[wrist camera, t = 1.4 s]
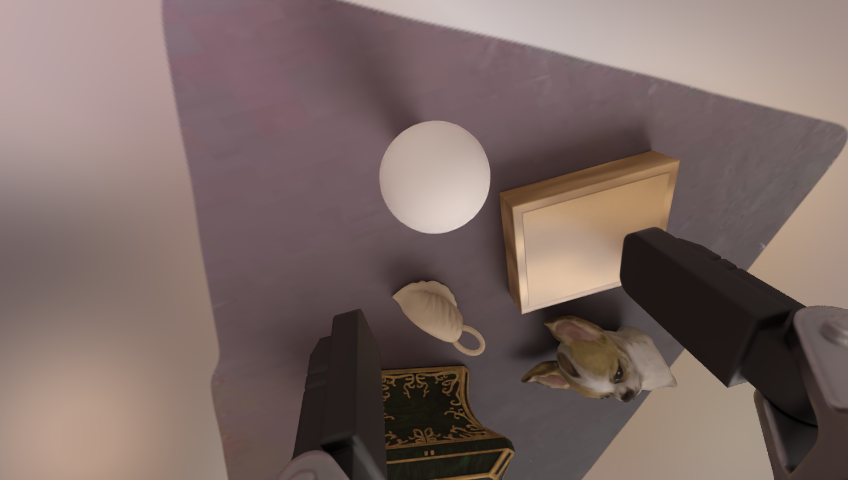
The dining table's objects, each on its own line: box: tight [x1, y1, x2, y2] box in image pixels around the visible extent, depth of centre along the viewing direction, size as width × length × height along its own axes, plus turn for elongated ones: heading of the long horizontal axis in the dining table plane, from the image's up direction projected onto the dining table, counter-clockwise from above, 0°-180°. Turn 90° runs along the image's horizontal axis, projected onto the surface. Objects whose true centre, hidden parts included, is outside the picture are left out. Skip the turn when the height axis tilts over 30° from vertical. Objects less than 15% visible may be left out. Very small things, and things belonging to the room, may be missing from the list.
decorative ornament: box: [393, 281, 485, 356], centre depth 31 cm, size 4×8×5 cm, turn 48°
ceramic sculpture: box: [521, 315, 677, 402], centre depth 37 cm, size 11×9×15 cm
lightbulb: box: [379, 121, 490, 233], centre depth 20 cm, size 6×6×11 cm
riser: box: [499, 151, 680, 314], centre depth 30 cm, size 12×14×3 cm
